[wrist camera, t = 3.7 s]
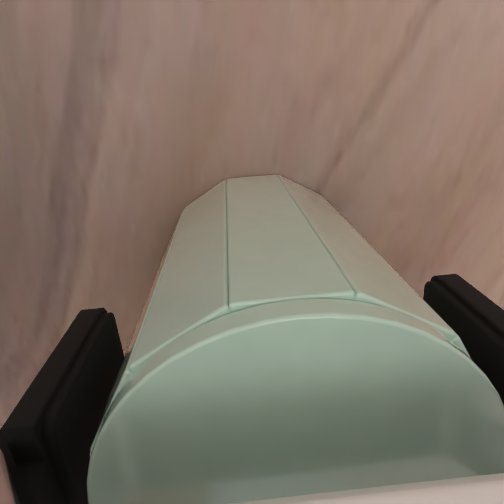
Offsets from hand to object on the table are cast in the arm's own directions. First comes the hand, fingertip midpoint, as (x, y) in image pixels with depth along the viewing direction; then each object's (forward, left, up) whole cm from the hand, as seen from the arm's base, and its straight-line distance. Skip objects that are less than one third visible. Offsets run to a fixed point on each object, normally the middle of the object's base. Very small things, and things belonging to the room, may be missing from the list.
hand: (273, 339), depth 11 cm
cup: (0, 0, -5) cm, 5 cm away
